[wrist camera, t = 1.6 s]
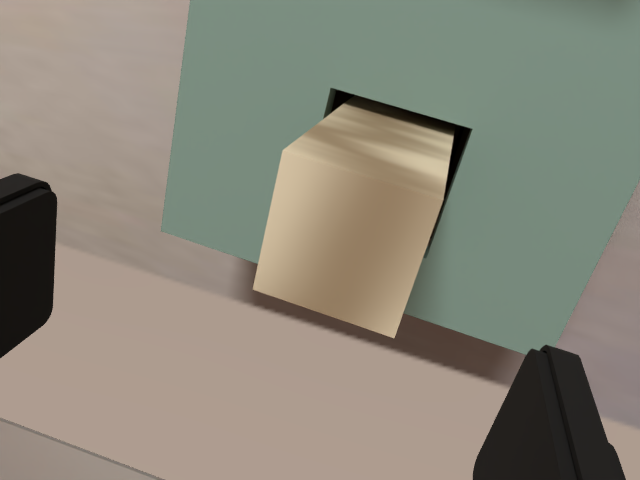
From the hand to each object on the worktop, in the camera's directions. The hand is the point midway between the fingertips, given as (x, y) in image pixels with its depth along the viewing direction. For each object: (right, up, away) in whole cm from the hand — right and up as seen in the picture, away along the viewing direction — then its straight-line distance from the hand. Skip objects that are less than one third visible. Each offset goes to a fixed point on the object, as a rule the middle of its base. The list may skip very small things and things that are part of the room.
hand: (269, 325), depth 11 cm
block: (+5, +7, +18) cm, 20 cm away
